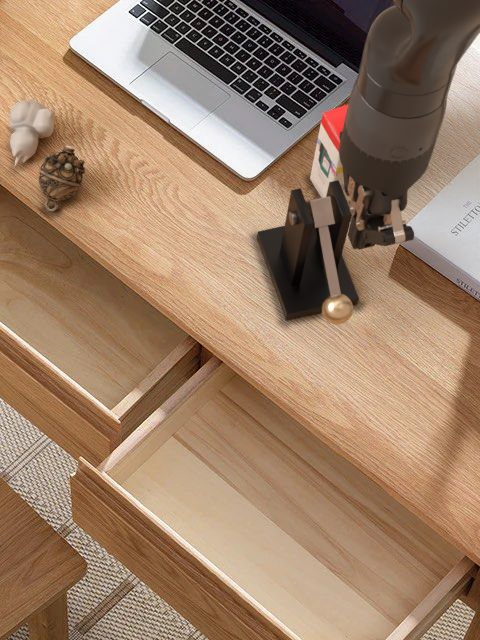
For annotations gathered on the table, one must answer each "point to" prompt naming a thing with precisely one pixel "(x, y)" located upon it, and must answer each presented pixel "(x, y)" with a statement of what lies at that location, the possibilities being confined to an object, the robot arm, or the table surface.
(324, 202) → the lever with brass knob
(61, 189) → the pendant
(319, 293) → the lever base
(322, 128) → the ink box
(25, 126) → the white lobed figurine
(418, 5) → the robot arm
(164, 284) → the table surface
